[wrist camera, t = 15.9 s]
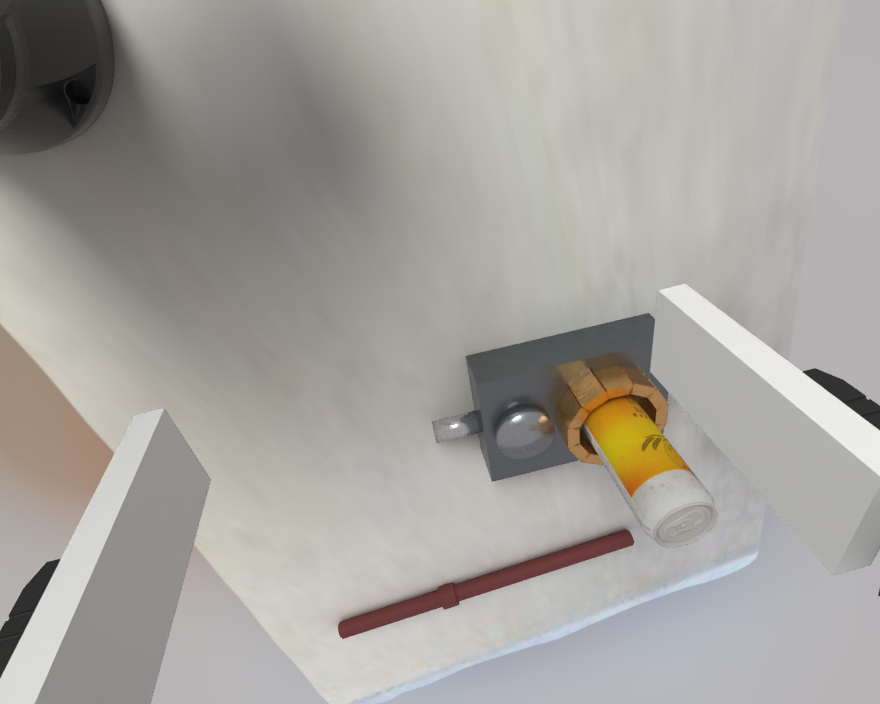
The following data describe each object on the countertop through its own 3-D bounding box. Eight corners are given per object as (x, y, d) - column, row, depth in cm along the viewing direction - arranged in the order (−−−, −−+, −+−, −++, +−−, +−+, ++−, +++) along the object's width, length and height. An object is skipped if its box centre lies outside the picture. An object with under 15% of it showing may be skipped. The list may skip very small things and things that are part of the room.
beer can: (638, 411, 54) (729, 527, 41) (588, 438, 55) (661, 560, 42) (621, 375, 50) (714, 489, 38) (568, 404, 51) (641, 525, 39)
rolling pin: (344, 625, 76) (344, 646, 73) (336, 615, 74) (336, 636, 72) (626, 534, 75) (636, 552, 73) (625, 521, 74) (635, 539, 71)
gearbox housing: (441, 460, 60) (453, 514, 53) (419, 367, 52) (430, 417, 45) (640, 411, 61) (676, 458, 54) (648, 313, 53) (692, 354, 46)
